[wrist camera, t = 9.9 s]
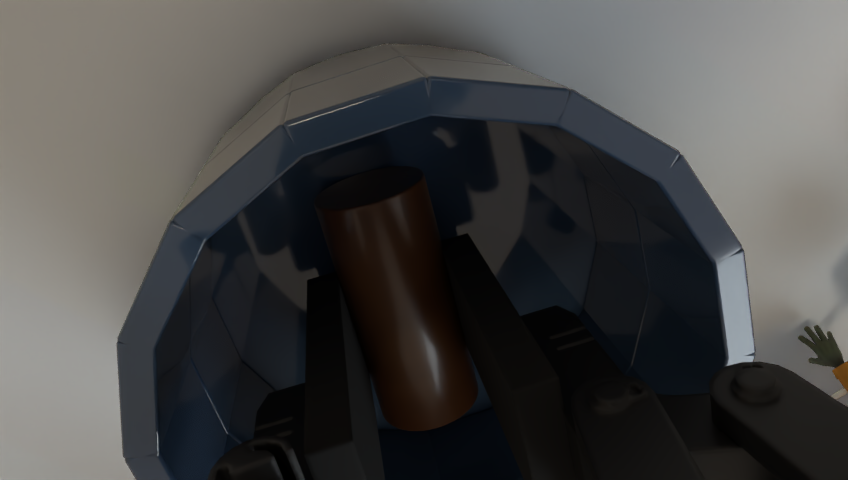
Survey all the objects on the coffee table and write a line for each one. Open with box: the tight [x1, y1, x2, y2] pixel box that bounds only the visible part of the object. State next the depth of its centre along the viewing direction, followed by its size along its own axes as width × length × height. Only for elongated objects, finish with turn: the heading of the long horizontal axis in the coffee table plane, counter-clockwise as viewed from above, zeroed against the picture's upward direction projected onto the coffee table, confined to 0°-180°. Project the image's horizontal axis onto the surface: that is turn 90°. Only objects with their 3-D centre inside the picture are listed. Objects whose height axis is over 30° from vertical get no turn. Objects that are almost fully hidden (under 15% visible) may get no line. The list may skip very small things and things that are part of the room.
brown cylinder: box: [314, 166, 478, 431], centre depth 16 cm, size 6×3×3 cm, turn 14°
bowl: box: [117, 43, 755, 480], centre depth 15 cm, size 11×11×7 cm
